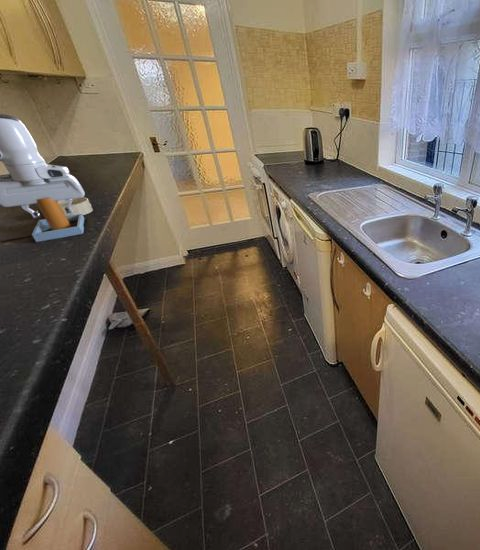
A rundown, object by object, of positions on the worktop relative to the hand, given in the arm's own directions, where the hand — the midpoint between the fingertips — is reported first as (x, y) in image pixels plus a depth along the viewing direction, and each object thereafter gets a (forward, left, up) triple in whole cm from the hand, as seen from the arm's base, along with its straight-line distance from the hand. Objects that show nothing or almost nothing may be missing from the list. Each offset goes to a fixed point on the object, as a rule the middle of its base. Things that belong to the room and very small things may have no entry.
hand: (54, 214), depth 99 cm
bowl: (+2, +18, -6) cm, 19 cm away
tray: (0, 0, -6) cm, 6 cm away
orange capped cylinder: (0, 0, -5) cm, 5 cm away
